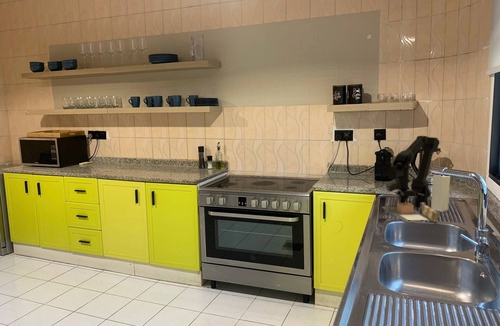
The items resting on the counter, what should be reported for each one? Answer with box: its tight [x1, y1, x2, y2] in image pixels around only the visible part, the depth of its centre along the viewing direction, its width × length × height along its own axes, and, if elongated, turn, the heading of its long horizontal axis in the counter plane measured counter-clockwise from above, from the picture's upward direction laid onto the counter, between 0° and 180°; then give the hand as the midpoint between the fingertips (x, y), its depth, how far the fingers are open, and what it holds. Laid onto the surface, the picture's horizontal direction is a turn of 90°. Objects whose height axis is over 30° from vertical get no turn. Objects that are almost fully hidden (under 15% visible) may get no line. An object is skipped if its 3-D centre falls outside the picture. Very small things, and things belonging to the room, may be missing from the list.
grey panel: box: [381, 206, 435, 224], centre depth 205 cm, size 16×30×1 cm, turn 3°
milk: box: [430, 174, 451, 213], centre depth 212 cm, size 6×6×22 cm
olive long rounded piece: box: [384, 202, 425, 216], centre depth 205 cm, size 21×2×6 cm, turn 93°
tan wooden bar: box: [422, 204, 439, 223], centre depth 196 cm, size 15×2×4 cm, turn 177°
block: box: [396, 202, 415, 214], centre depth 207 cm, size 6×6×4 cm
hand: (401, 206), depth 212 cm, fingers closed
